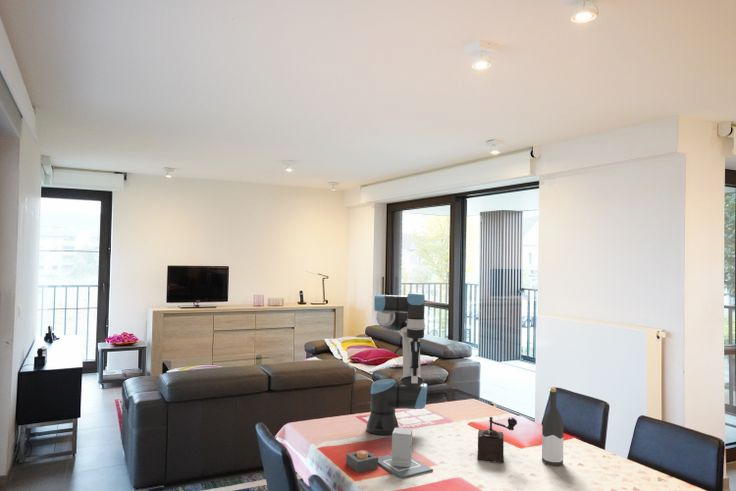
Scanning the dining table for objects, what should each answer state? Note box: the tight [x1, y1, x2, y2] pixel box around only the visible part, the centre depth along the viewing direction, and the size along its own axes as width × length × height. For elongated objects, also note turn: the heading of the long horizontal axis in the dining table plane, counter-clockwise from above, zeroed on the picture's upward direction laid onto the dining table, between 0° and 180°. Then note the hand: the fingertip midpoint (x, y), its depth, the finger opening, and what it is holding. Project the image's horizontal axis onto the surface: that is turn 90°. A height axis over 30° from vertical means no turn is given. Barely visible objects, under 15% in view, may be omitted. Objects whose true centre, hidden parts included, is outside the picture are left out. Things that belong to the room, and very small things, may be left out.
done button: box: [356, 449, 368, 459], centre depth 201 cm, size 4×4×4 cm
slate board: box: [377, 453, 434, 480], centre depth 203 cm, size 20×15×1 cm
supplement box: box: [391, 427, 413, 467], centre depth 203 cm, size 7×7×13 cm
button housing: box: [345, 449, 379, 473], centre depth 201 cm, size 9×9×4 cm
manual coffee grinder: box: [476, 416, 518, 463], centre depth 213 cm, size 16×11×18 cm
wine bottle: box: [541, 386, 564, 467], centre depth 210 cm, size 8×8×30 cm
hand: (414, 382), depth 225 cm, fingers closed
